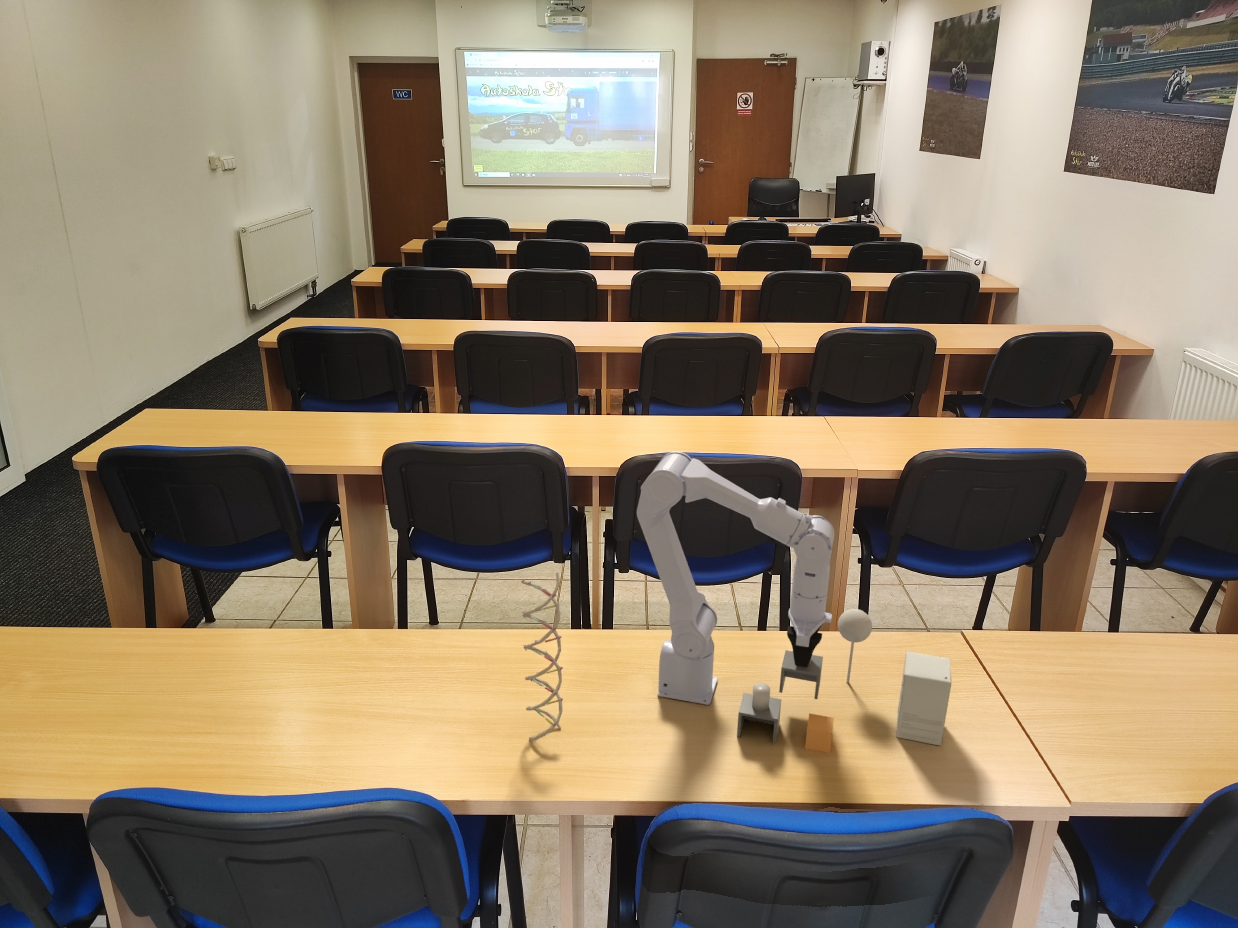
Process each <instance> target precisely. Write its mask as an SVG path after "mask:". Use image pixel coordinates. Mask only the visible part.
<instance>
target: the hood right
mask: <svg viewBox="0 0 1238 928" xmlns="http://www.w3.org/2000/svg"><path fill="white" fill-rule="evenodd" d="M823 661H824V656H823V655H822V656H821V655H814V654H812V657H811V660H810V663H809V665H808V667H802V666H796V665H795V662H794V655H793V650H788V649H787V650H785V651H784V655H783V659H782V664H781V668H780V669H781V671H780V681H779V691H778V693H781V694H782V693H783V691H784V687H785V683H786V678H791V679H795V680H796V679H797V680H803V681H807V682H808V681H809V682H814V683H815V688H814V689H815V690H814V700H818V698H819V697H818V696H819V691H820V686H821V678H822V677H821V676H822V670H823Z"/></svg>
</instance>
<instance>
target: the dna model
mask: <svg viewBox="0 0 1238 928" xmlns="http://www.w3.org/2000/svg"><path fill="white" fill-rule="evenodd" d="M555 578H556V584H555V587H554V590H553V591H552V593H551V592H549V591H548V590H547V589H546V588H544V587H542V586H540V585H537V584H536V583H533V582H532V581H527V580H525V579H521V580H520V582H521V584H524V585H526V586H530V587H533V589H537V591H540V592H541V593H543V594H544V595H546V596H548V598H547V599H546V600H545V601H544V602H541V604H539V605H537V606H536V607H535V608H532V609H530V610H528V611H525V610H523V611H521V613H522V617H523V618H524V619H526V618H528V619H531V620H534V621H536V622H537V623H538V624H539V623H540V624H542V626H544V627H546V628H548V629H549V631H548V632H547V633H546V634H544V635H543V636H542V637H541V638H540V639H535V640H534V642H532V643H530V644H529V643H528V644H523V645H522V646H523V649H524V650H525V651H528V650H530V651H532V652H534V653H536V654H537V655H540V656H542V657H543V658H545V659H546V660H548V661H549V662H551V663H550V664H549V665H548V666H547V667H546V668H544V669H542V670H541V671H539V672H536V673H534V674H530V675H528V676H525V677H524V680H525V681H530V682H534V683H536V684H537V685H539V686H540V687H543V688H544V689H545V690H546V691H548V692H550V693H551V694H550V695H549V697H547V698H546V699H545V700H544V701H542V702H540V703H537V704H535V705H534V706H527V707H526V708H525V711H528V712H529V711H535V712H536V713H537V714H538V715H540V716H541V717H543V718H544V719H545V721H547V722H548V723H549V724H550V725H551V726H550V727H549V728H548V729H546V730H545V731H544V732H541V733H538V734H537V735H533V736H531V737H528V741H534V740H535V741H536V740H537V739H541V738H543V737H545V736H547V735H548V734H550V733H551V732H552V731H553V730H554V729H555V728H556V727H557V728H558V730H561V728H562V727H561V725H560V720H561V717H562V714H563V700H564V698H563V697H561V696H560V693H559V691H560V689H561V686H562V681H563V675H562V670H563V669H564V667H563V666H560V665H559V663H558V660H559V658H560V654H561V652H562V643H561V642H562V641H561V638H563V637H562V636H561V635H559V633H558V631H557V628H558V625H559V624H560V621H561V609H560V604H559V603H560V602H558V600H557V598H556V597H557V592H558V590H559V587H560V585H561V580H560V573H559V572H555ZM551 601H552V603H553V605H549V603H550V602H551ZM548 605H549V606H548ZM546 606H547V607H546ZM552 608H555V609H556V614H555V618H554V624H553V626H552V625H551V624H550V623H549V622H548V621H546V620H544V619H542V618H541V617H538V616H534V615H533V613H536V612H540V611H544V610H548V609H552ZM552 634H553V635H554V636H555V637H554V638H549V637H550V636H551V635H552ZM548 638H549V639H548ZM552 641H556V644H557V653H556V654H555V657H553V656H552V655H551V654H549V653H548V650H542V649H540V648H539V647H535V646H537V645H540V644H543V643H549V642H552ZM553 666H554V667H555V669H552V668H554V667H553ZM554 672H557V676H558V683H557V684H556V687H555V688H554V687H553V686H552V685H550V683H548V681H545V680H544V679H541V678H539V677H541V676H544V675H547V674H551V673H554ZM555 697H556V698H557V699H555V700H553V699H554V698H555ZM552 700H553V701H552ZM554 703H558V715H557V717H555V716H554V715H552V713H550V712H548V711H546V710H545V709H541V708H542V707H544V706H548V705H552V704H554ZM546 716H547V717H546ZM548 717H549V718H548ZM549 719H551V720H552V721H551V720H549Z"/></svg>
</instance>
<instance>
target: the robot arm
mask: <svg viewBox="0 0 1238 928" xmlns="http://www.w3.org/2000/svg"><path fill="white" fill-rule="evenodd" d="M683 496H684V497H685V498H684V500H685V501H684V502H685V503H690V502H695V501H697V500H698V501H700V500H702V499H708V500H711V501H712V502H715V503H717V504H719V505H720V506H723V507H726V508H727V509H730V510H732V511H734V512H736V513H739V514H741V515H743V516H746V517H747V518H750V520H751V523H752V525H753V527H754V529H755V530H757V531H759V532H761V533H763V534H764V535H766V536H769V537H770V538H772V539H774V540H776V541H778V542H780V543H781V544H783V545H785V546H787V547H788V548H792V549H793V551H794V554H795V555H796V559H795V562H794V564H793V574H792V575H793V577H792V585H791V595H790V606H789V607H790V608H789V609H788V615H787V616H788V618H789V620H790V623H791V625H792V626H791V625H788V626H787V630H786V635H787V638H788V639H789V642H790V644H791V648H792V651H793V655H794V662H795V665H796V666H802V667H808V665H809V663H810V660H811V657H812V655H814V654H813V653H814V651H815V648H817V646H818V645H819V644H820V643H821V641H822V637H823V633H822V632H819V630H820V629H821V627H822V626H823V625H824V624H825V623H828V624H829V623H830V624H831V623H832V620H833V615H832V613H830V612H826V607H827V599H828V591H829V582H830V572H831V565H830V564H831V559H832V558H831V557H832V553H833V550H832V548H833V546H834V545H833V544H834V542H835V541H834V540H835V529H834V526H833V524H832V523H831V522H830V521H829V520H828V519H826V518H825V517H824V516H821V515H818V514H817V515H815V514H814V515H811V514H809V513H807V514H804V513H802V512H801V511H798V510H796V509H795V508H793V507H791V506H789V505H788V504H787V502H786V500H784V499H782V498H781V497H779V498H778V499H775V498H773V497H766V498H758V497H756V496H755V495H753V494H752V493H750V492H749V491H746V489H745V490H744V488H742V487H740V486H738V485H736V484H735V483H734V482H732V481H730V480H728V479H727V478H725V477H723V476H722V475H719V474H718V473H716V472H715V471H713V470H711V469H710V468H709V467H708V466H707V465H706V464H704V463H703V462H702V460H700V459H698V458H693V457H690V456H689V455H688V454H687V453H685V452H682V451H679V450H678V451H677V450H675V451H670V452H668V453H666V454H665V455H663V456H662V458H661V459H660V461H659V462H658V463H657V465H655V467H654V469H653V470H652V472H651V473H650V474H649V475H648V476H647V478H646V479H645V480H644V481H643V483H642V485H641V486H640V495H639V499H638V504H637V508H636V517H637V521H638V522H639V526H640V528H641V530H642V533H643V536H644V538H645V541H646V544H647V546H648V549H649V552H650V554H651V555H650V556H651V558H652V560H653V563H654V566H655V568H656V571H657V574H658V576H659V579H660V582H661V584H662V587H663V591H664V592H665V595H666V597H667V600H668V603H669V619H668V621H669V626H670V629H671V637H670V640H664V641H663V643H662V645H661V649H660V654H659V655H660V656H659V665H658V691H657V696H658V697H662V698H668V699H673V700H677V701H679V700H680V701H685V702H691V703H695V704H701V705H706V706H709V705H710V704H712V703H711V702H712V699H713V695H714V692H715V689H716V686H717V682H718V677H716V676H713V675H714V674H713V673H714V660H715V659H714V655H715V643H714V640H713V637H712V633H713V631H714V629H715V627H716V625H717V624H718V614H717V612H716V610H715V609H714V607H712V606H711V605H710V604H709V603H708V601H707V599H706V596H705V594H704V593H701V592H699V591H698V589H697V586H696V584H695V581H694V578H693V575H692V572H691V570H690V567H689V565H688V564H689V563H688V561H687V558H686V556H685V553H684V549H683V548H682V544H681V541H680V539H679V536H678V533H677V531H676V528H675V524H674V523H673V520H672V517H671V514H670V510H671V508H672V507H673V506H675V505H676V504H677V503H678V502H680V500H682V498H683Z"/></svg>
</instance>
